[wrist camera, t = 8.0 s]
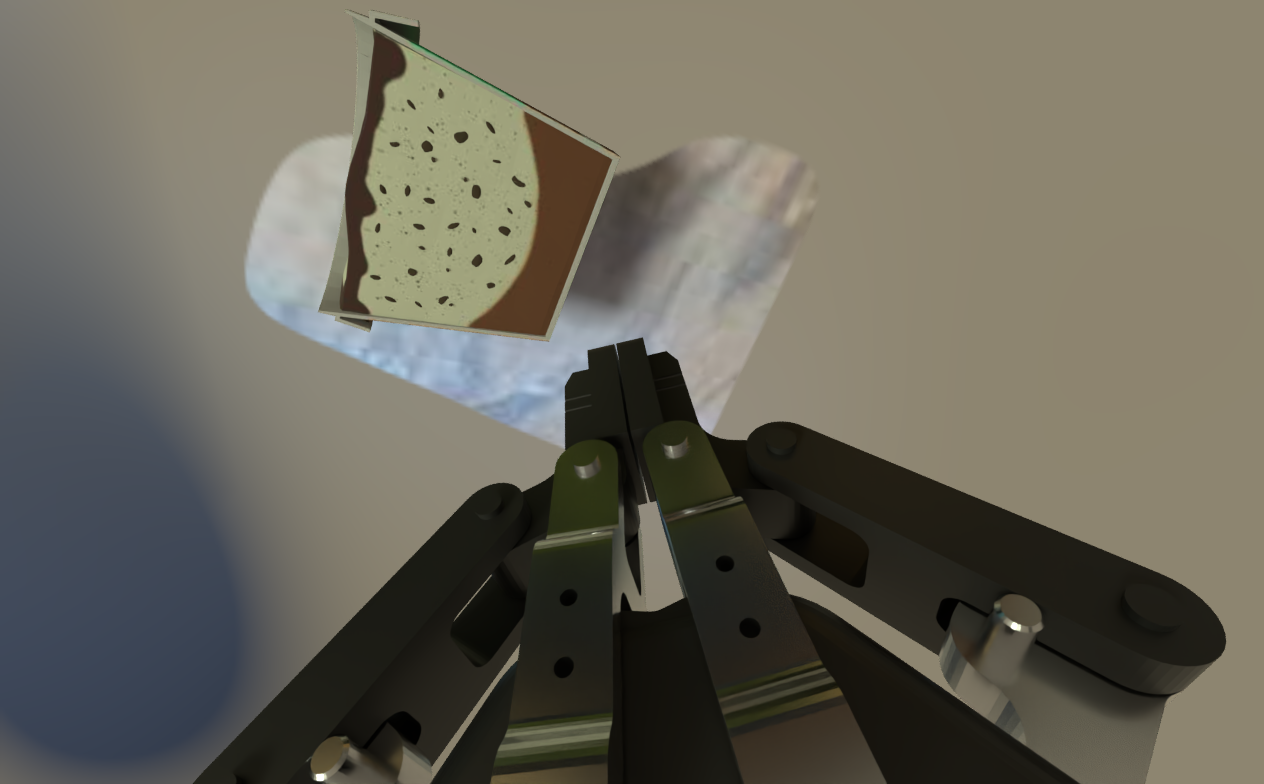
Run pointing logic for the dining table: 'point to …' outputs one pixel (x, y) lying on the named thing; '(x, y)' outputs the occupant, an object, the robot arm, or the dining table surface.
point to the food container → (457, 197)
